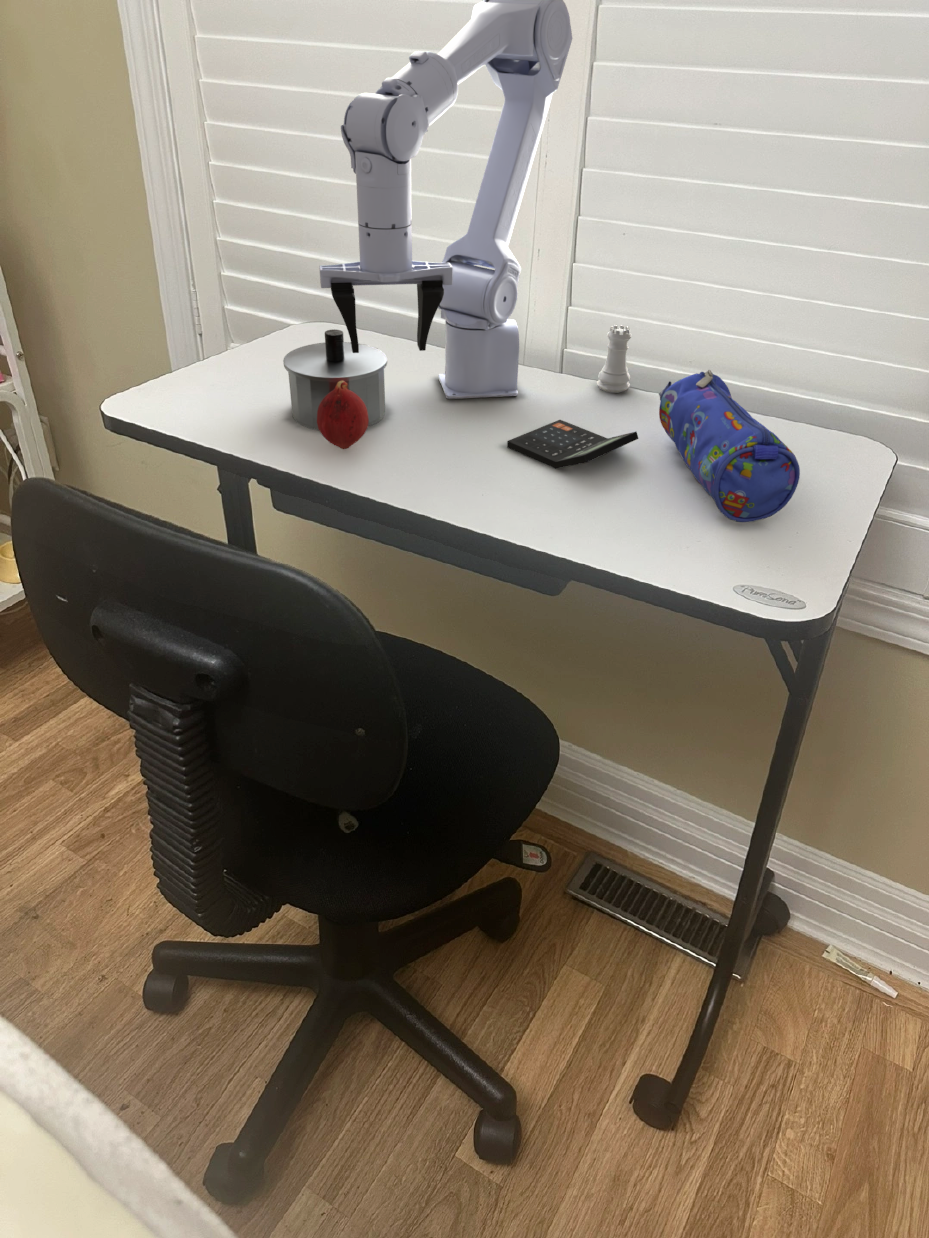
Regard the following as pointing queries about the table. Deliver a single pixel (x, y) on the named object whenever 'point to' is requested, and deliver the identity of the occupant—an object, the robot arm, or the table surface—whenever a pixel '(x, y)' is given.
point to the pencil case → (728, 448)
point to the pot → (312, 392)
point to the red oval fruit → (342, 417)
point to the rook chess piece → (616, 361)
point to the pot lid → (334, 360)
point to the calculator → (566, 444)
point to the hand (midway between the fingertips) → (388, 349)
